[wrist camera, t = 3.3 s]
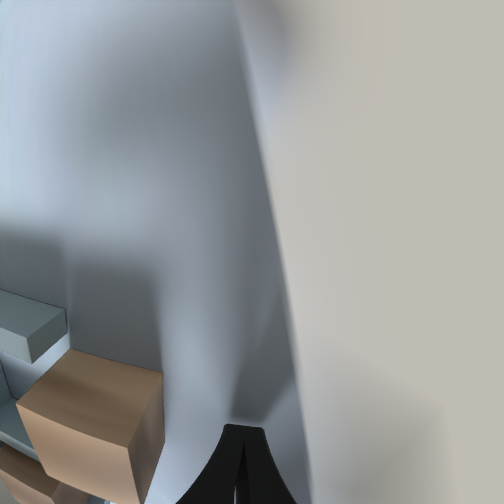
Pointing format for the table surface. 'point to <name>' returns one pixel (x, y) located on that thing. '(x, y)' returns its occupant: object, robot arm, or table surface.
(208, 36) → the table surface
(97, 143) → the table surface
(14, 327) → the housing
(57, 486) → the seated block
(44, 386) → the block
